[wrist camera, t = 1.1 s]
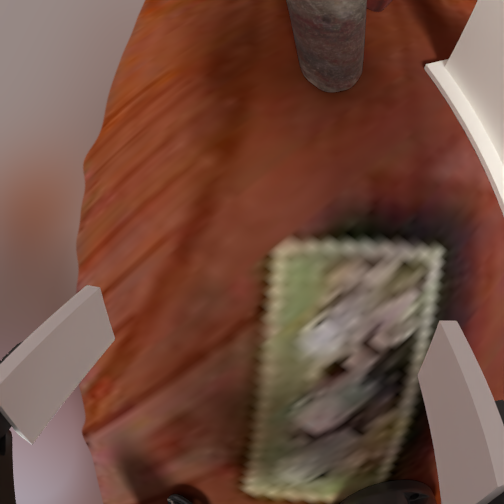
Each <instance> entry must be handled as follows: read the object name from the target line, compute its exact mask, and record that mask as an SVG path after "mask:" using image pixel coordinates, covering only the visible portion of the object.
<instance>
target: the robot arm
mask: <svg viewBox="0 0 504 504" xmlns="http://www.w3.org/2000/svg"><path fill="white" fill-rule="evenodd" d="M114 340H115V337H114V334H113V331H112V328H111V325H110V321H109V318H108V315H107V311H106V308H105V304H104V301H103V297H102V293H101V290H100V287H94V286H89V285H87V286H85V287H84V288H83V289H82V290H81V291H79V292H78V293H77V294H76V295H75V296H74V297H72V298H71V299H70V300H69V301H68V302H67V303H65V304H64V305H63V306H62V307H61V308H60V309H59V310H58V311H56V312H55V313H54V314H53V315H52V316H51V317H49V318H48V319H47V320H46V321H45V322H44V323H43V324H42V325H41V326H40V327H39V328H37V329H36V330H35V331H34V332H33V333H32V334H31V335H30V336H29V337H28V338H27V339H26V340H24V341H22V342H21V343H19V344H17V345H16V346H15V347H14V348H13V349H12V350H11V351H10V352H9V354H7V355H6V356H5V357H4V358H3V359H2V361H0V504H16V500H15V492H14V479H13V460H12V434H11V431H10V430H9V429H10V427H11V426H12V427H13V428H14V430H15V431H16V432H17V433H18V434H19V436H21V437H22V438H23V439H25V440H26V441H28V442H29V443H30V444H32V445H33V443H34V441H35V440H36V439H37V438H38V436H39V435H40V434H41V432H42V431H43V429H44V428H45V427H46V426H47V424H48V423H49V422H50V420H51V419H52V418H53V416H54V415H55V414H56V412H57V411H58V410H59V408H60V407H61V406H62V405H63V403H64V402H65V401H66V399H67V398H68V397H69V396H70V394H71V393H72V392H73V391H74V389H75V388H76V387H77V385H78V384H79V383H80V382H81V380H82V379H83V378H84V377H85V375H86V374H87V373H88V372H89V371H90V369H91V368H92V367H93V366H94V364H95V363H96V362H97V361H98V359H99V358H100V357H101V356H102V355H103V353H104V352H105V351H106V350H107V349H108V347H109V346H110V345H111V344H112V342H113V341H114ZM417 376H418V380H419V384H420V388H421V392H422V396H423V400H424V404H425V408H426V413H427V417H428V422H429V426H430V431H431V436H432V442H433V447H434V453H435V458H436V465H437V471H438V478H439V486H440V494H441V503H442V504H504V401H503V400H498V401H494V398H493V396H492V394H491V391H490V389H489V386H488V384H487V382H486V380H485V377H484V375H483V373H482V371H481V368H480V366H479V364H478V362H477V360H476V358H475V356H474V354H473V352H472V350H471V348H470V346H469V344H468V342H467V340H466V338H465V336H464V334H463V332H462V330H461V328H460V326H459V324H458V322H457V321H439V323H438V326H437V329H436V331H435V334H434V337H433V339H432V342H431V344H430V347H429V349H428V352H427V354H426V356H425V359H424V361H423V363H422V366H421V368H420V370H419V373H418V375H417ZM340 504H437V503H436V500H435V497H434V494H433V492H432V490H431V489H430V487H429V486H427V485H426V484H424V483H422V482H418V481H414V480H395V481H388V482H384V483H380V484H376V485H373V486H370V487H367V488H365V489H362V490H360V491H358V492H356V493H354V494H353V495H351V496H349V497H348V498H346V499H345V500H344V501H342V502H341V503H340Z"/></svg>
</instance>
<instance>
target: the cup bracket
mask: <svg viewBox="0 0 504 504" xmlns="http://www.w3.org/2000/svg"><path fill="white" fill-rule="evenodd" d="M424 69H425V71H426V72H427V73H428V75H429V76H430V78H431V79H432V80H433V82H434V83H435V85H436V86H437V88H438V89H439V91H440V92H441V94H442V95H443V97H444V98H445V100H446V101H447V103H448V104H449V106H450V107H451V109H452V111H453V112H454V114H455V116H456V117H457V119H458V121H459V122H460V124H461V126H462V127H463V129H464V131H465V133H466V135H467V136H468V138H469V140H470V142H471V144H472V146H473V148H474V150H475V152H476V154H477V155H478V157H479V160H480V162H481V164H482V166H483V168H484V170H485V172H486V174H487V176H488V179H489V181H490V183H491V186H492V188H493V190H494V193H495V195H496V197H497V200H498V202H499V205H500V208H501V210H502V213H503V216H504V0H478V1H477V3H476V5H475V8H474V10H473V12H472V14H471V16H470V18H469V20H468V22H467V24H466V26H465V28H464V30H463V32H462V34H461V36H460V38H459V40H458V42H457V44H456V46H455V48H454V50H453V52H452V54H451V56H450V58H449V59H446V60H442V61H437V62H433V63H429V64H426V65H425V67H424Z"/></svg>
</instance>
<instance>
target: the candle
mask: <svg viewBox="0 0 504 504" xmlns="http://www.w3.org/2000/svg"><path fill="white" fill-rule="evenodd" d="M286 2H287V6H288V10H289V15H290V19H291V24H292V29H293V34H294V39H295V44H296V49H297V54H298V59H299V63H300V68H301V70H302V73H303V74H304V76H305V77H306V78H307V80H308V81H310V82H311V83H312V84H314V85H315V86H316V87H317V88H318V89H320V90H322V91H325V92H339V91H343V90H347V89H349V88H351V87H352V86H353V85H354V84H355V83H356V82H357V81H358V79H359V78H360V76H361V74H362V67H363V58H364V44H365V25H366V6H367V0H286Z"/></svg>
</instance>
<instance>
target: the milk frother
mask: <svg viewBox="0 0 504 504" xmlns="http://www.w3.org/2000/svg"><path fill="white" fill-rule="evenodd" d="M167 500H168V504H192V503H191V502H190V501H189V500H188V499H186V498H184V497H183V496H181V495H178V494H173V495H171V496H170V497H169V498H168V499H167Z"/></svg>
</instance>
